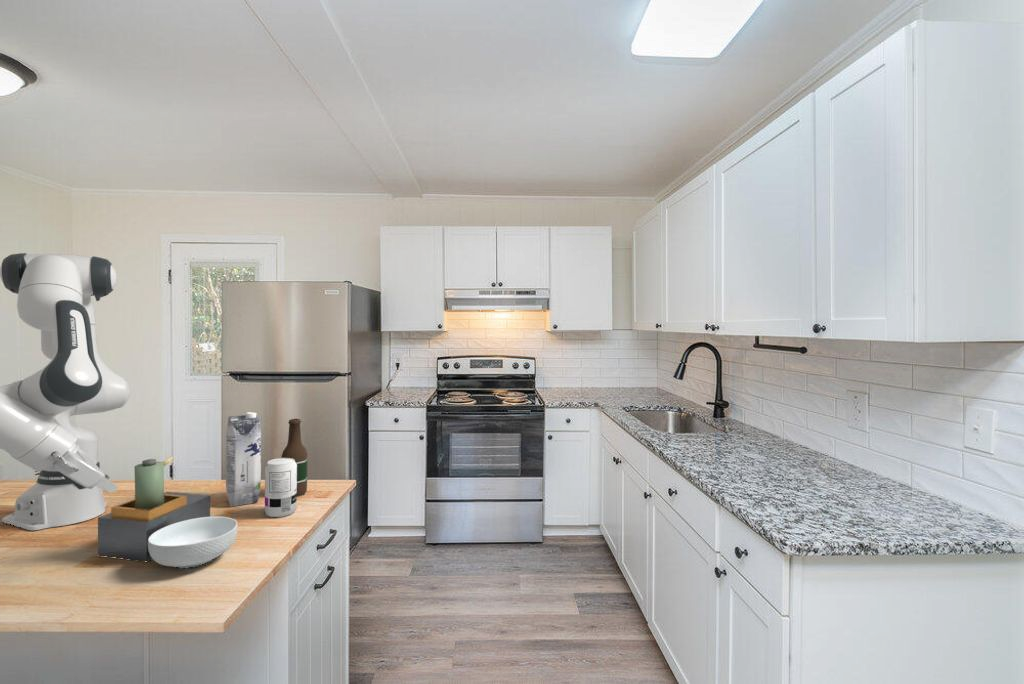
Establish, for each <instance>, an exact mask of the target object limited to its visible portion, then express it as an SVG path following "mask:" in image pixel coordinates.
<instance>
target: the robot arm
mask: <svg viewBox="0 0 1024 684" xmlns="http://www.w3.org/2000/svg"><path fill="white" fill-rule="evenodd" d="M0 280H1V281H2V283H3V285H4V287H5V288H6V289H7V290H8V291H10V292H11V293H14V294H17V300H16V301H17V302H16V306H17V307H16V308H17V312H18V317H19V319H21V321H22V322H24V323H25V324H26V325H28V326H29V327H31V328H34V329H37V330H40V343H41V345H40V346H41V348H40V349H41V352H42V354H43V355H44V356H45V357H46V358H48V359H50V361H49V363H47V364H46V365H45V366H44V367H43V368H41V369H39V370H37V371H36V372H35V373H33V374H31V375H29V376H27V377H25V378H24V379H21V380H16V381H13V382H12V383H9V384H5V385H1V386H0V449H1V450H2V451H5V452H6V453H8V454H9V455H10V456H11V458H13V459H14V460H15V461H16V460H17V462H20V463H21V464H23V465H25V466H27V467H28V468H30V469H32V470H34V473H35V474H34V476H37V479H36V483H35V484H33V485H32V486H31V487H30V488H29V489H27V490H25V491H24V492H23V493H21V494H20V495H19V496H18V497H17V498H16V500H15V503H14V512H12V513H9V514H8V515H5V516H4V517H2V518H1V523H3V522H4V523H3V524H6V523H7V524H6V525H10V524H11V526H13V525H14V527H18V528H20V527H21V528H20V529H24V530H28V531H38V530H39V531H40V530H44V529H49V528H56V527H61V526H62V527H63V526H68V525H73V524H77V523H82V522H85V521H89V520H92V519H94V518H95V519H96V518H98V517H100V515H101V516H102V514H103V515H104V513H105V512H106V508H107V506H108V501H106V500H105V498H104V491H106V492H108V493H110V494H112V493H114V492H115V491H116V490H118V488H119V486H118V485H117V484H116V483H114V482H113V481H111V480H110V476H109V475H108V474H107V473H106V472H104V471H103V470H101V465H100V464H101V463H100V462H99V461H98V460H99V459H98V456H99V455H98V453H99V452H98V449H99V447H98V446H99V445H98V441H99V440H98V436H97V435H96V434H95V433H96V432H94V431H92V430H90V429H86V428H85V427H82V426H81V427H80V426H76V425H72V424H71V423H70V417H72V416H77V415H78V416H79V415H80V416H82V415H89V414H98V413H99V414H100V413H105V412H109V411H114V410H117V409H120V408H123V407H124V406H125V404H127V402H128V401H129V398H130V397H131V396H130V395H131V388H130V387H131V386H130V385H129V383H128V381H127V380H126V379H125V378H124V377H123V376H122V375H120V374H117V373H116V372H114V371H113V370H111V369H110V368H109V367H108V366H107V365H106V363H105V362H104V360H103V359H102V358H101V355H100V353H99V348H98V343H97V342H98V340H97V329H96V326H97V324H96V315H95V313H96V312H95V309H94V303H93V301H92V299H93V298H92V297H93V296H94V298H95V300H96V302H99V301H100V300H101V298H104V297H106V296H109V295H110V294H111V293H112V292H113V291H114V289H115V286H116V284H117V280H118V276H117V271H116V270H115V268H114V266H113V263H112V262H111V261H110V260H109V259H107V258H103V257H99V256H86V255H85V256H84V255H79V254H70V253H59V254H57V253H32V254H31V253H30V254H29V253H28V254H27V253H26V252H24V253H23V252H19V253H12V254H9V255H7V256H6V257H4V258H3V260H2V262H1V265H0Z"/></svg>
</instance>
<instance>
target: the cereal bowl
mask: <svg viewBox="0 0 1024 684" xmlns="http://www.w3.org/2000/svg"><path fill="white" fill-rule="evenodd" d="M238 528H239V527H238V521H237V520H236V519H234V518H231V517H228V516H227V517H226V516H210V517H202V518H195V519H190V520H185V521H181V522H178V523H174V524H171V525H169V526H166V527H164V528H162V529H160V530H158V531H156V532H154V533H153V534H152V535H151V536H150V537H149V538H148V551H149V553H150V556H151V557H152V560H153V561H154V562H155V563H156V564H159V565H161V566H165V567H171V568H172V567H174V568H176V567H179V568H178V569H183V568H185V569H189V568H188V567H193V568H195V567H194V566H197V567H199V566H198V565H201V566H203V565H202V564H204V563H206V564H208V563H210V562H212V561H213V560H214V559H215V558H217V557H219V556H220V555H223V554H224V553H225V552H226V551H228V550H229V549H230V548H231V547H232V546H233V545H234V542H235V541H236V538H237V535H238V534H237V533H238ZM212 559H213V560H212ZM209 561H210V562H209ZM207 562H208V563H207ZM204 565H205V564H204ZM186 567H187V568H186Z"/></svg>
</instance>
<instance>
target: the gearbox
mask: <svg viewBox="0 0 1024 684" xmlns="http://www.w3.org/2000/svg"><path fill="white" fill-rule="evenodd" d="M202 517H211V495H209V494H197V493H186V492H175V491H164V504H162V505H159V506H157V507H154V508H152V509H138V508H135V498H133V499H130V500H128V501H125V502H122V503H119V504H117V505H114V506H112V507H110V513H106V514H103V515H101V516H97V556H98V555H99V556H107V557H116V558H123V559H130V560H129V561H132V560H138V561H137V562H140V561H148V560H150V561H152V560H153V559H152V557H151V556H150V553H149V551H148V538H149V537H150V536H151V535H152V534H153V533H154V532H156V531H158V530H160V529H162V528H164V527H166V526H169V525H171V524H174V523H178V522H181V521H185V520H190V519H195V518H202ZM123 559H122V560H123ZM151 559H152V560H151ZM148 562H149V561H148Z"/></svg>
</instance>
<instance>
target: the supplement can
mask: <svg viewBox="0 0 1024 684" xmlns="http://www.w3.org/2000/svg"><path fill="white" fill-rule="evenodd" d="M297 500H298V499H297V464H296V462H295V460H294V459H292V458H281V457H278V458H274V459H270V460H268V461H267V464H266V465H265V467H264V514H265V515H266V516H267V515H268V516H267V517H269V516H270V517H269V518H273V517H277V518H283V517H288V516H290V515H292V514H293V512H295V511H296V510H297V508H298V507H297V506H298V505H297Z"/></svg>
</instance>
